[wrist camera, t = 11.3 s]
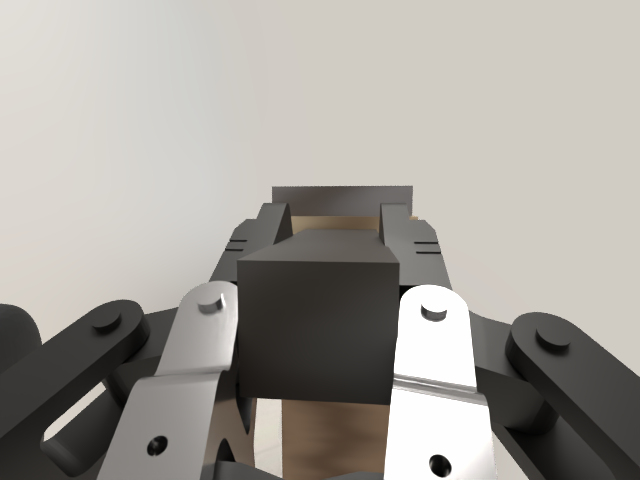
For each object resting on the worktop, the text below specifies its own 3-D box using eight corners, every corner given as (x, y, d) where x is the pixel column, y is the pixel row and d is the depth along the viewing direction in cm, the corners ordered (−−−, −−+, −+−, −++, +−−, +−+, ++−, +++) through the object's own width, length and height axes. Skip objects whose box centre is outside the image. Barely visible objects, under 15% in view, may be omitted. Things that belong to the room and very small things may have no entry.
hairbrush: (156, 392, 7) (145, 162, 6) (298, 260, 23) (298, 192, 23) (493, 411, 6) (504, 157, 6) (395, 261, 23) (397, 192, 22)
